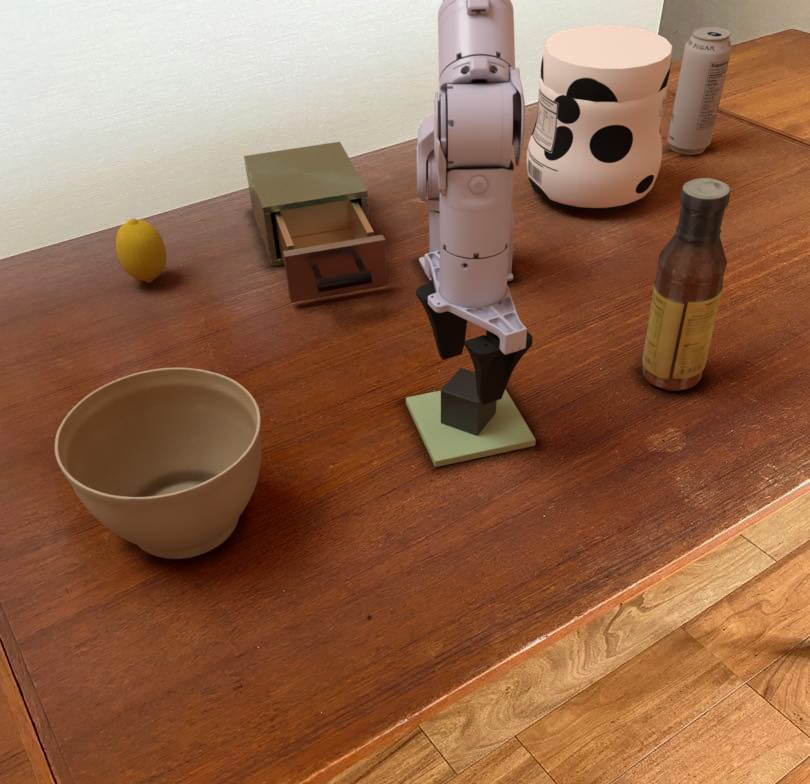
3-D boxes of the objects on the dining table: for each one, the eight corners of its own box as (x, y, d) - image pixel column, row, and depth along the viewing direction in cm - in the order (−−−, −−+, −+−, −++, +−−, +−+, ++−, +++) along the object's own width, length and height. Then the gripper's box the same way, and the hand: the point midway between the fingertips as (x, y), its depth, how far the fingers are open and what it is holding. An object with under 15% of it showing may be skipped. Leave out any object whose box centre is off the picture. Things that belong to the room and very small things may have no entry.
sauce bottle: (704, 363, 90) (755, 175, 76) (697, 399, 86) (749, 208, 72) (640, 353, 92) (678, 167, 77) (631, 387, 88) (669, 198, 73)
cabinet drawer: (397, 304, 98) (395, 257, 94) (298, 322, 96) (291, 275, 92) (359, 231, 109) (356, 186, 105) (271, 246, 108) (264, 201, 103)
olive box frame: (371, 249, 108) (367, 190, 102) (271, 266, 106) (262, 207, 100) (344, 198, 118) (339, 141, 112) (253, 212, 116) (243, 155, 110)
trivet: (499, 384, 89) (499, 378, 88) (535, 446, 82) (536, 439, 82) (405, 403, 87) (405, 397, 87) (435, 467, 81) (435, 461, 80)
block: (459, 400, 86) (460, 367, 83) (496, 412, 85) (498, 379, 82) (440, 423, 84) (440, 390, 81) (477, 436, 82) (478, 402, 79)
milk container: (673, 180, 118) (703, 35, 105) (623, 235, 109) (649, 83, 95) (558, 154, 125) (572, 14, 112) (501, 203, 115) (509, 56, 102)
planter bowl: (196, 620, 69) (164, 527, 61) (56, 544, 75) (10, 451, 67) (314, 498, 78) (300, 403, 70) (180, 439, 84) (153, 346, 76)
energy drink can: (682, 135, 128) (705, 21, 117) (717, 147, 125) (744, 32, 114) (657, 147, 125) (678, 33, 114) (692, 160, 122) (717, 43, 111)
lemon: (162, 296, 102) (145, 232, 96) (119, 292, 103) (99, 229, 97) (179, 271, 106) (164, 209, 100) (137, 268, 107) (120, 206, 101)
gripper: (392, 215, 74) (397, 348, 84) (474, 296, 65) (470, 435, 75) (464, 196, 76) (461, 328, 86) (554, 272, 67) (539, 410, 77)
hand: (470, 377), depth 81 cm, fingers open, 7 cm apart
